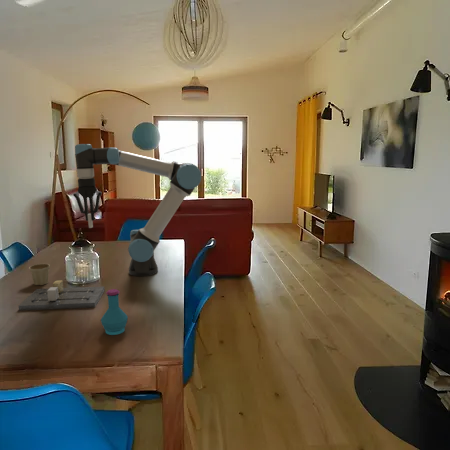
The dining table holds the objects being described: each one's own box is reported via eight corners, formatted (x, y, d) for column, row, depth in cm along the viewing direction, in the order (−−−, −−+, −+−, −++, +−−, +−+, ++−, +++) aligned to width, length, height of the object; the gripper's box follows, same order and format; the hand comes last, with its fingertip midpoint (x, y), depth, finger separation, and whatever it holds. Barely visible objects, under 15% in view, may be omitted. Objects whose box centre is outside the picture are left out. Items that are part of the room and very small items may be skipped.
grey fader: (58, 297, 169) (57, 287, 168) (55, 300, 165) (54, 290, 164) (51, 297, 168) (50, 287, 168) (48, 300, 165) (47, 290, 164)
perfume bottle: (104, 325, 146) (102, 286, 143) (130, 324, 147) (128, 286, 144) (99, 337, 137) (96, 295, 134) (126, 335, 138) (123, 295, 135)
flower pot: (43, 287, 188) (41, 269, 186) (26, 286, 190) (24, 268, 188) (55, 281, 197) (54, 264, 195) (38, 279, 199) (37, 263, 197)
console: (104, 290, 183) (104, 285, 183) (95, 307, 163) (94, 301, 163) (37, 293, 180) (36, 287, 180) (19, 310, 160) (18, 304, 160)
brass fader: (63, 289, 177) (62, 280, 177) (60, 293, 174) (59, 283, 173) (56, 290, 177) (55, 280, 176) (53, 293, 173) (52, 283, 172)
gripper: (101, 176, 189) (106, 225, 194) (73, 177, 187) (78, 226, 192) (99, 177, 182) (104, 228, 186) (69, 179, 180) (75, 229, 184)
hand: (90, 227), depth 189 cm, fingers closed
